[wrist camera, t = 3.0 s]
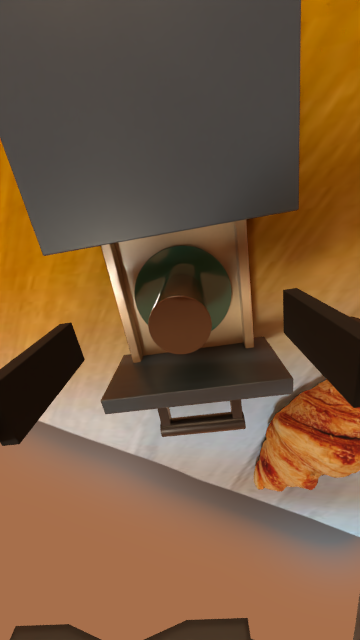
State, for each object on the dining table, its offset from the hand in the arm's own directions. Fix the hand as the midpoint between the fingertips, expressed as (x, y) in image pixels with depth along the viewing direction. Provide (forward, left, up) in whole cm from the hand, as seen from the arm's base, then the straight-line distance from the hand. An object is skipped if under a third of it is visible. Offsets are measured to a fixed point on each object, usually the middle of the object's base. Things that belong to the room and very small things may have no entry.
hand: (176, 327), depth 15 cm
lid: (0, 0, -8) cm, 8 cm away
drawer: (0, +1, -8) cm, 9 cm away
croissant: (-12, +19, -10) cm, 25 cm away
